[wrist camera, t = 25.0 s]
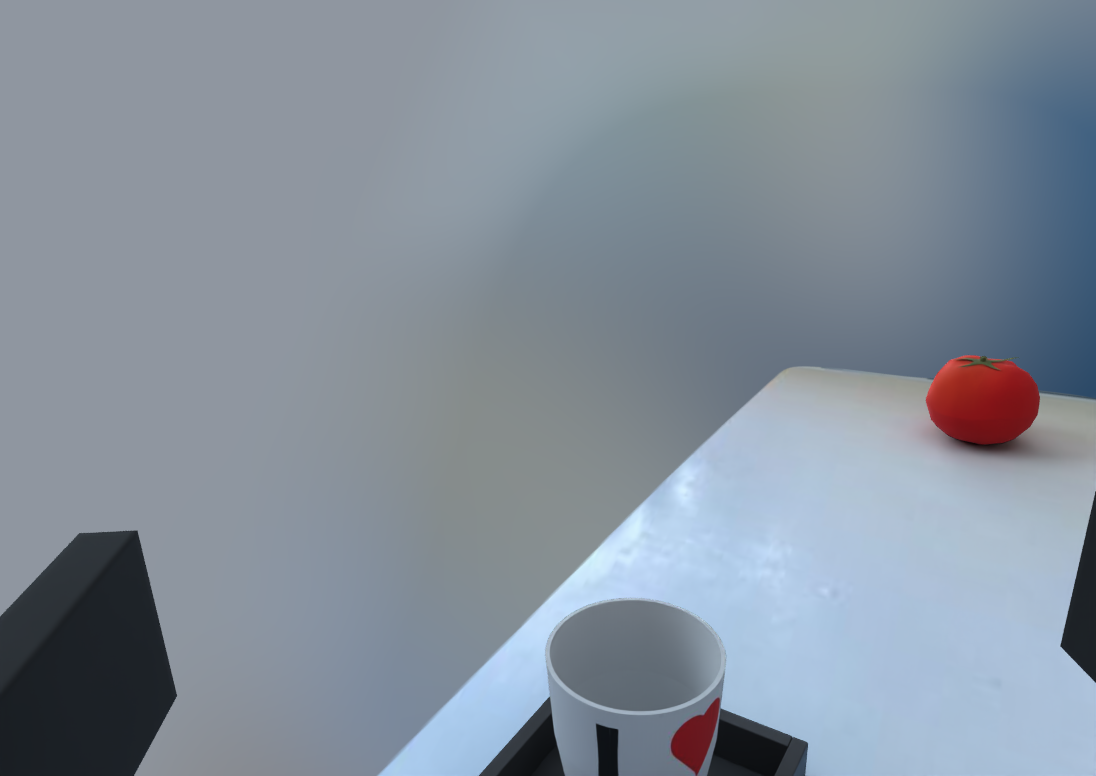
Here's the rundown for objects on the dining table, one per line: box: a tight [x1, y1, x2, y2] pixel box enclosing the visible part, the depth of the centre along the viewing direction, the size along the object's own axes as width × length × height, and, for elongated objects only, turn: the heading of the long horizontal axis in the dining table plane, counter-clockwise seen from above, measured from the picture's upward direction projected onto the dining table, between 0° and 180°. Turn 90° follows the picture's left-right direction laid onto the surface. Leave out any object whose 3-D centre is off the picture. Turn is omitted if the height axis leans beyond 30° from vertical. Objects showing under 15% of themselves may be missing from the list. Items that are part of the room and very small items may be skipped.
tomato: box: [926, 356, 1040, 445], centre depth 80 cm, size 9×10×8 cm
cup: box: [545, 598, 726, 776], centre depth 39 cm, size 8×8×10 cm
